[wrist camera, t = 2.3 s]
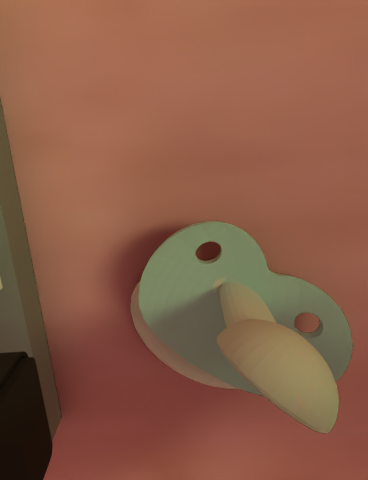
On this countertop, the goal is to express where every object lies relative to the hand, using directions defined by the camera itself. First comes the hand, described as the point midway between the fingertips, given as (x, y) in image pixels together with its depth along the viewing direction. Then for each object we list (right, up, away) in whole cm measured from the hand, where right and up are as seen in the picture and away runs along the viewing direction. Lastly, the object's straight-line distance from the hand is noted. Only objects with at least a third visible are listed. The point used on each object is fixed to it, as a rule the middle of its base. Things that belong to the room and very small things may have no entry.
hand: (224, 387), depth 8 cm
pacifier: (0, +1, +4) cm, 5 cm away
